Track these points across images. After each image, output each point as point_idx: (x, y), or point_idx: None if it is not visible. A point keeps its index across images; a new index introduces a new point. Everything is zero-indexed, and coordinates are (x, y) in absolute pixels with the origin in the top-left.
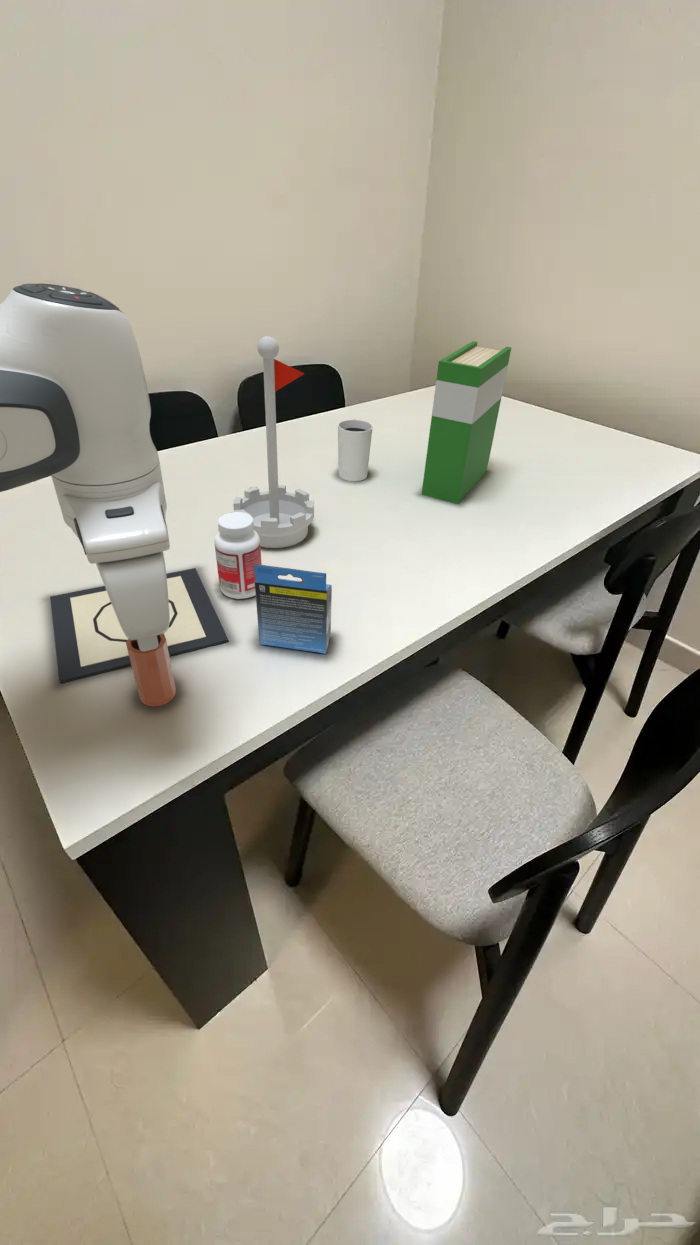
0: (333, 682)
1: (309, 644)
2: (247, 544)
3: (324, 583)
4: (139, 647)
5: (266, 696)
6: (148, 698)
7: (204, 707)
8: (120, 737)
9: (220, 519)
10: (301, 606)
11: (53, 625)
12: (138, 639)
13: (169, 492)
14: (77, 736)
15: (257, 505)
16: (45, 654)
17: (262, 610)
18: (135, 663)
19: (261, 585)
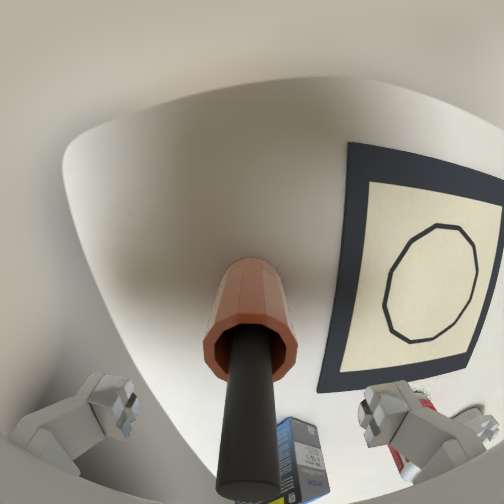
0: (191, 444)
1: None
2: (407, 477)
3: None
4: (89, 377)
5: (190, 397)
6: (225, 275)
7: (196, 335)
8: (178, 213)
9: None
10: None
11: (468, 168)
12: (76, 396)
13: None
14: (207, 150)
15: (483, 428)
16: (420, 139)
17: (289, 466)
18: (222, 304)
19: (293, 501)
